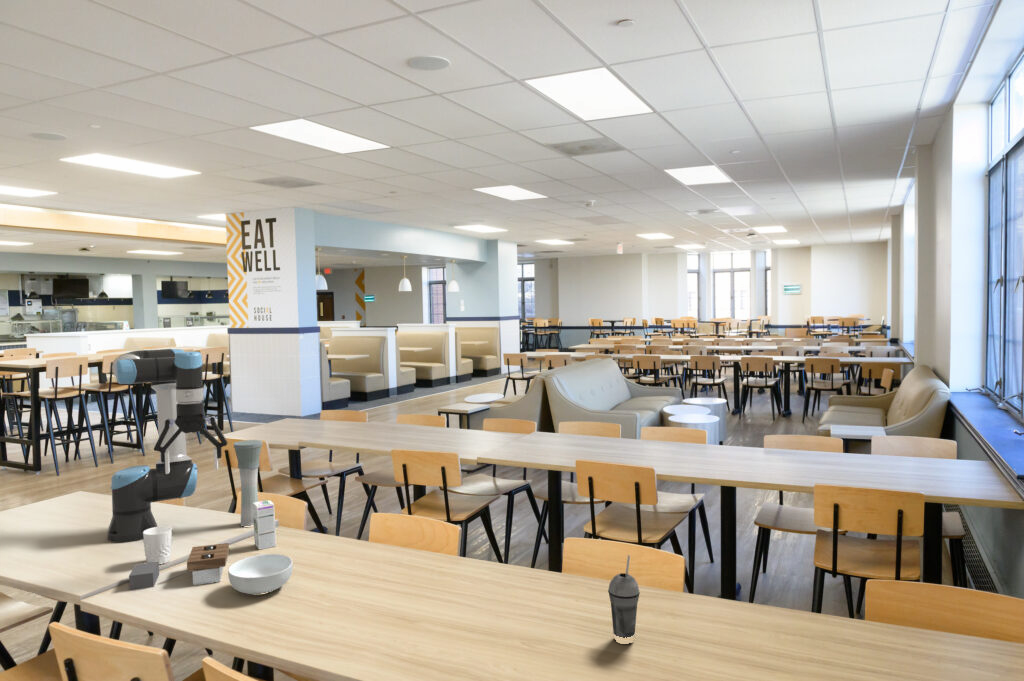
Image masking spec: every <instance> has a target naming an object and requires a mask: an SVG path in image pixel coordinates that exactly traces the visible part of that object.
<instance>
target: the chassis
mask: <svg viewBox="0 0 1024 681" xmlns="http://www.w3.org/2000/svg"><path fill="white" fill-rule="evenodd" d="M208 550H213V546H207V551H208ZM208 558H211V554H205V555H204V559H208ZM223 570H224V567H216V568H208V569H200V570H192V586H199V585H207V584H214V582H216V583H220V582H221V580H220V579H222V576H223V575H222V574H223Z"/></svg>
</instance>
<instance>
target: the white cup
mask: <svg viewBox="0 0 1024 681" xmlns="http://www.w3.org/2000/svg"><path fill="white" fill-rule="evenodd" d="M172 528H173V527H171V526H167V525H160V526H157V527H153V528H150V529H147V530H145V531H144V532H143V539H142V540H143V548H144V556H145V563H150V562H159V564H161V563H164V562H167V561H169V560H170V559H171V560H172V556H171V555H172V541H173V540H172V537H173V536H172V535H173V534H172V533H173V532H172V530H173V529H172ZM171 560H170V561H171ZM170 561H169V562H170ZM167 563H168V562H167Z"/></svg>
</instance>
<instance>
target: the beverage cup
mask: <svg viewBox="0 0 1024 681" xmlns="http://www.w3.org/2000/svg"><path fill="white" fill-rule="evenodd" d="M630 558H631V556H630V555H629V554H628V555H627V560H626V567H625V573H624V572H623V573H622V572H621V573H618V574H616V575H614V576H613V577H612V578H611V580H610V582H609V585H608V589H607V590H608V596H609V600H610V608H611V618H612V631H613V635H614V634H615V635H616V636H619V637H623V638H625V637H626V638H627V637H631V636H633V635H634V634H635V635H636V624H637V611H638V602H639V598H640V594H641V593H640V588H639V584H638V582H637V580H636V578H634V577H633V575H631V574H629V568H630ZM635 635H634V636H635Z"/></svg>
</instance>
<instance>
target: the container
mask: <svg viewBox="0 0 1024 681" xmlns="http://www.w3.org/2000/svg"><path fill="white" fill-rule="evenodd" d="M262 446H263V441H262V440H259V439H247V440H240V441H235V442H233V448H234V451H235V455H236V459H237V468H238V471H239V477H240V484H241V487H240V493H241V494H240V496H241V497H240V500H241V501H240V502H241V504H240V523H239V526H240V525H242V526H251V525H254V517H253V503H255V502H259V495H258V491H259V490H258V489H259V488H258V473H259V467H260V456H261V451H262Z"/></svg>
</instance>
